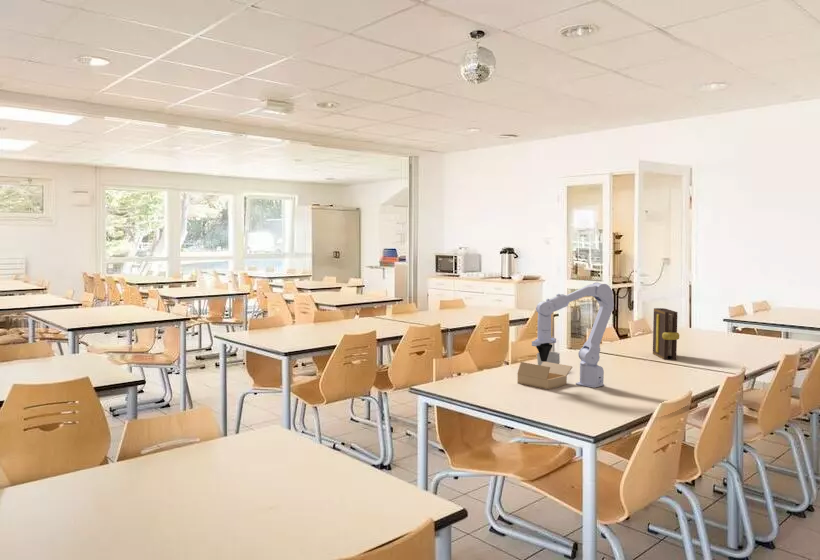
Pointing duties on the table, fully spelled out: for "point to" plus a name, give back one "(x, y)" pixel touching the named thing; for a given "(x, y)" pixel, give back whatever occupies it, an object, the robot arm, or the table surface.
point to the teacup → (550, 358)
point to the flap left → (533, 370)
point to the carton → (544, 381)
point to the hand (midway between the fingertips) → (543, 361)
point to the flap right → (557, 368)
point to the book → (665, 333)
